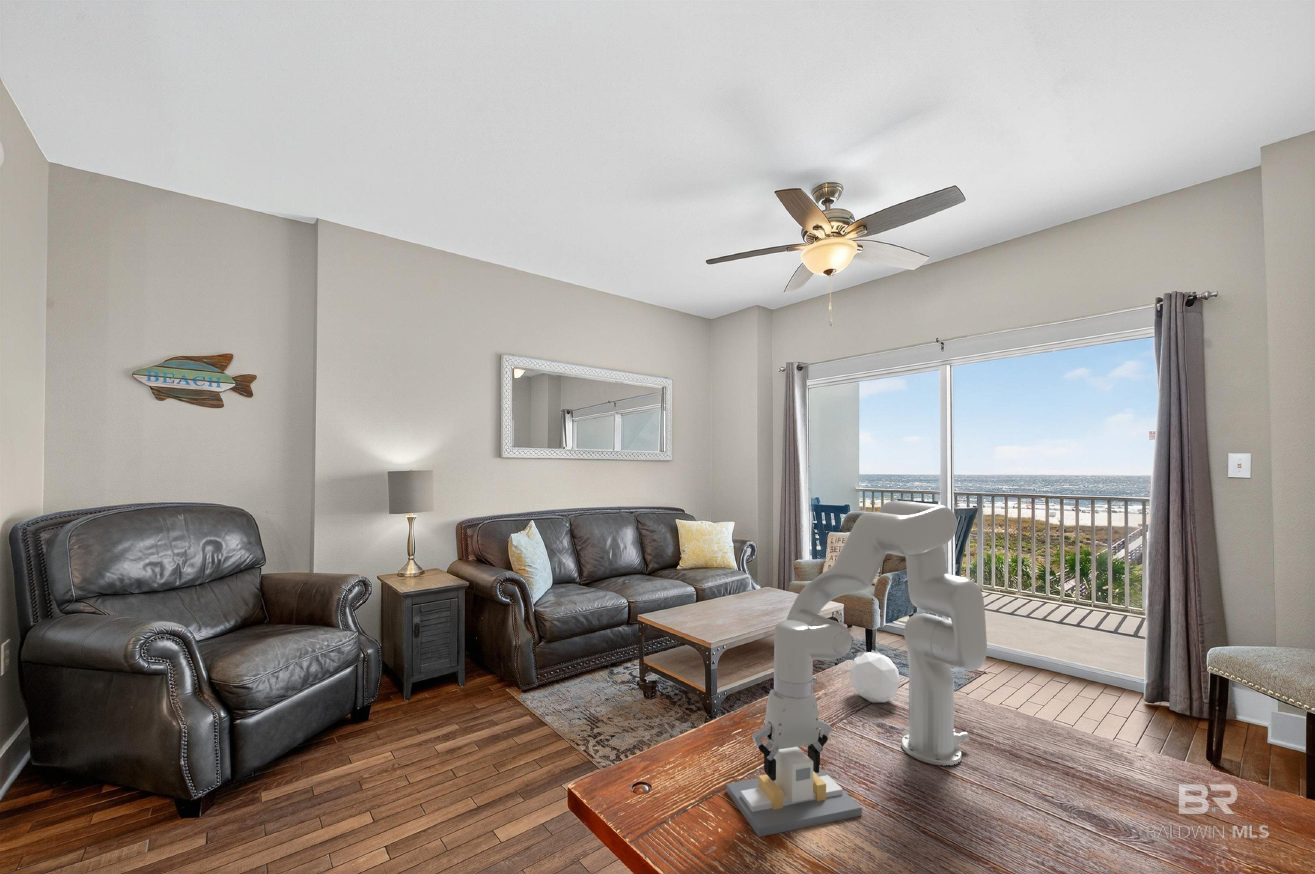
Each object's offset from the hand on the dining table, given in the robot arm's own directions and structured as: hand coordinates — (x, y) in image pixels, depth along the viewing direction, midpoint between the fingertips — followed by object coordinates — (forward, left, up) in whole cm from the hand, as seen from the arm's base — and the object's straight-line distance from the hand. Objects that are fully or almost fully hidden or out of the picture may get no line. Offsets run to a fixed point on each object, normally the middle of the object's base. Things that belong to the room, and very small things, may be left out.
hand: (792, 772), depth 108 cm
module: (0, 0, -3) cm, 3 cm away
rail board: (0, 0, -6) cm, 6 cm away
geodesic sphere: (-48, -35, -6) cm, 60 cm away
